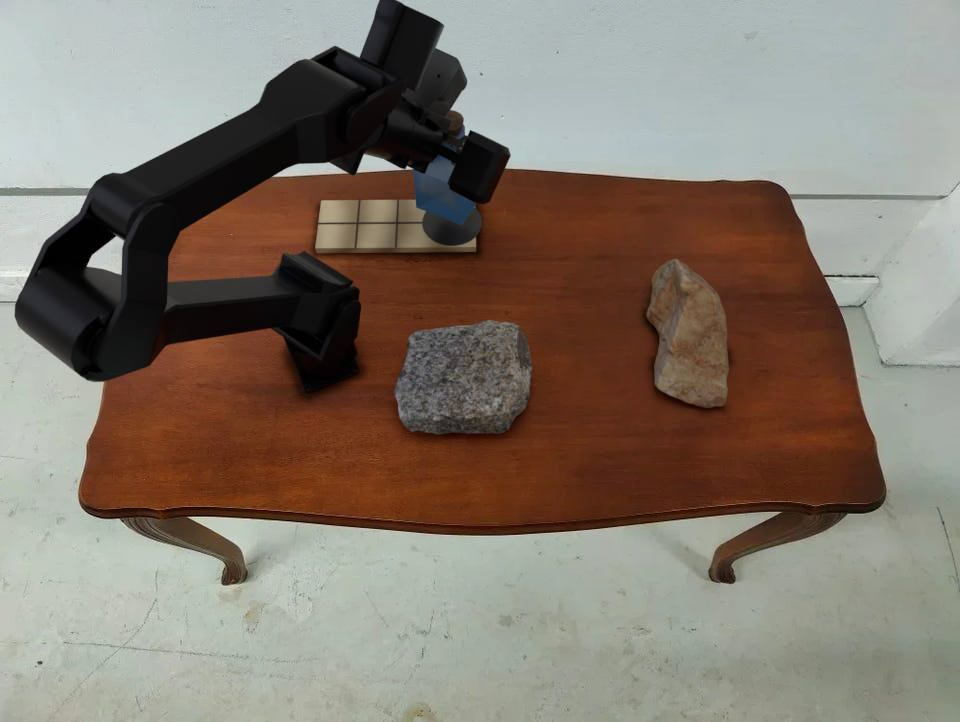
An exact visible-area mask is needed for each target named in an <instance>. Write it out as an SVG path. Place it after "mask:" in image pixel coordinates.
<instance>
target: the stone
mask: <svg viewBox="0 0 960 722" xmlns="http://www.w3.org/2000/svg"><path fill="white" fill-rule="evenodd" d="M650 282H651V289H652V290H651V294H650V303H649V306H648V307H647V310H646V319H647V321H648V322H649V323H650V324H651V325H652V326H654V328H655V330H656V331H657V334H658V337H659V339H658V341H659V344H658V349H657V355H656V357H655V361H654V365H653V366H654V367H653V371H654V386H655V387H656V389H658V390H659V391H660V392H662V393H664V394H666V395H668V396H670V397H673V398H675V399H678V400H680V401H682V402H684V403H686V404H688V405H694V406H697V407H699V408H700V407H701V408H705V409H711V408H714V407H723V406H724V405H726V403H727V400H728V397H727V396H728V393H729V387H728V383H727V380H728V379H727V378H728V376H729V371H730V367H729V353H728V327H727V326H728V325H727V316H726V315H727V314H726V312H725V308H724V307H723V303H722V301H721V297H720V295H719V293H718V292H717V291H716V290H715V289H714V288H713V287H712V286H711V285H710V284H708V282H707V281H706V280H705V279H704V278H703V277H702V276H701V275H699V274H698V273H697V272H694V271H693V270H692V269H691V268H690V267H689V266H688V265H687V264H686V263H684V262H682V261H681V260H679V259H677V258H673V259H670V260H668V261H666V262H665V264H662V265H660V266H659V267H658V269H656V270H655V272H654V273H653V276H652V277H651V280H650Z"/></svg>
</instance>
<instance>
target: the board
mask: <svg viewBox="0 0 960 722" xmlns="http://www.w3.org/2000/svg"><path fill="white" fill-rule="evenodd" d="M482 224H483V219H482V215H481V213H480V212H479V210H478V209H477V208H476V206H475V207H474V208H473V210H472V211H471V213H470V214H469V216H468V217H467V219H466V220H465V221H464V223H463V224H462V225H460V224H457V223H455V222H452V221H450V220H447V219H444V218H442V217H439V216H437V215H434V214H432V213H429V212H426V211H424V210H421V209H419V208H416V199H399V198H398V199H397V198H396V199H360V198H359V199H334V200H333V199H331V200H330V199H329V200H327V199H326V200H325V199H323V200H322V199H321V201H320V208H319V216H318V222H317V232H316V238H315V239H316V240H315V247H314V249H315V252H316V254H375V253H376V254H378V253H380V254H381V253H382V254H384V253H386V254H387V253H389V254H390V253H392V254H393V253H477V236H478V235H479V233H480V232H481V229H482V226H483V225H482Z"/></svg>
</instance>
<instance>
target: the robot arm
mask: <svg viewBox="0 0 960 722" xmlns="http://www.w3.org/2000/svg"><path fill="white" fill-rule="evenodd" d="M444 29H445V24H443V22H441V21H439V20H438V19H436V18H434V17H432V16H429V15H428V14H425V13H423V12H422V11H419V10H416V9H415V8H412V7H410V6H408V5H406V4H404V2H403V3H402V1H399V0H378V3H377V5H376V8H375V12H374V17H373V20H372V23H371V25H370V28H369V30H368V34H367V35H366V39H365V41H364V44H363V47H362V49H361V52H360V54H359V56H357V55H356V54H354V53H351V52H349V51H347V50H346V49H343V48H341V47H340V46H337V45H333V46H331V47H329V48H327V49H326V50H324V51H322V52H320V53H318V54H316V55H315V56H313V57H311V58H303V59H299V60H297V61H295V62H294V63H292V64H291V65H289V66H288V67H287V68H285V69H284V70H282V71H281V72H279V73H278V74H276V76H274V77H273V78H271V79H270V80H269V81H267V83H266V84H265V86H264V88H263V91H262V93H261V96H260V98H259V101H258V103H256V104H254V105H253V106H252V107H250V108H249V109H248V110H245V111H243V112H241V113H240V114H238V115H236V116H234V117H232V118H229V119H228V120H226V121H224V122H222V123H220V124H218V125H216V126H214V127H211V128H210V129H208V130H207V131H204V132H202V133H200V134H198V135H197V136H195V137H192V138H191V139H189V140H187V141H184V142H183V143H180V144H179V145H177V146H175V147H173V148H170V149H169V150H166V151H165V152H163V153H161V154H159V155H157V156H156V157H153V158H151V159H149V160H147V161H145V162H143V163H141V164H139V165H137V166H135V167H134V168H132V169H130V170H127V171H125V172H110V173H108V174H103V175H102V176H100V178H98V179H97V180H96V181H94V183H93V185H92V186H91V187H90V189H89V191H88V193H87V195H86V197H85V199H84V201H83V204H82V206H81V208H80V210H79V212H78V213H77V214H76V215H75V216H74V217H73V218H71V219H70V220H68V222H66V223H64V225H63V226H61V227H60V228H59V229H58V230H56V231H55V232H54V233H53V234H51V235H50V236H49V237H48V238H46V239H45V241H44V242H43V243H42V246H41V247H40V250H39V252H38V254H37V256H36V259H35V261H34V263H33V265H32V267H31V270H30V272H29V274H28V276H27V278H26V281H25V282H24V285H23V287H22V289H21V291H20V292H19V294H18V296H17V298H16V302H15V304H14V319H15V322H16V324H17V326H18V328H19V329H21V330H22V331H23V333H25V334H26V335H27V336H28V337H30V338H31V339H32V340H34V342H36V343H37V344H38V345H40V346H42V348H44V349H45V350H46V351H48V352H49V353H50V354H52V355H53V356H54V357H55V358H57V359H58V360H59V361H60V362H61V363H63V364H64V365H65V366H67V367H68V368H69V369H70V370H72V371H73V372H74V373H76V374H77V375H78V376H80V377H81V378H83V379H84V380H86V381H88V382H92V383H103V382H107V381H111V380H114V379H117V378H120V377H122V376H125V375H128V374H131V373H134V372H137V371H140V370H142V369H146V368H148V367H150V366H151V365H152V363H153V362H154V361H155V360H156V359H157V358H158V356H159V355H160V354H161V353H162V351H163V350H164V349H165V348H166V347H168V346H170V345H176V344H182V343H188V342H194V341H201V340H208V339H213V338H219V337H226V336H232V335H238V334H244V333H249V332H250V333H251V332H257V331H263V330H272V331H273V332H275V333H276V334H278V335H279V336H281V337H282V338H283V340H284V343H285V345H286V348H287V350H288V351H287V352H288V353H289V357H290V359H291V362H292V364H293V366H294V369H295V372H296V374H297V377H298V379H299V382H300V384H301V387H302V390H303V392H304V393H305V394H311V393H313V392H317V391H318V390H319V391H320V390H321V389H325V388H327V387H329V386H332V385H334V384H336V383H339V382H340V383H341V382H343V381H345V380H347V379H350V378H352V377H355V376H358V375H359V374H360V368H359V365H358V363H357V360H356V358H357V357H358V355H359V354H358V351H357V347H356V343H355V341H356V340H357V338H358V336H359V329H360V328H359V327H360V322H361V321H360V320H361V312H362V303H361V301H360V294H361V290H360V288H359V287H357V286H356V285H354V284H353V283H354V280H352V279H351V278H349V277H348V276H346V275H345V274H343V273H341V272H339V271H338V270H336V269H335V268H333V267H331V266H330V265H328V264H327V263H325V262H324V261H322V260H320V259H319V258H317V257H315V256H314V255H313V254H311V253H309V252H308V251H306V250H303V251H301V252H299V253H295V254H291V253H287V252H283V253H282V254H281V259H280V262H279V263H278V265H277V266H276V268H275V269H274V270H273V272H272V273H271V275H261V276H245V277H243V276H241V277H229V278H228V277H227V278H213V279H196V280H180V281H177V280H176V281H169V256H170V254H171V253H172V250H173V248H174V247H175V244H176V242H177V240H178V238H179V236H180V233H181V232H182V231H183V230H185V229H187V228H189V227H190V226H192V225H194V224H195V223H197V222H199V221H201V220H202V219H204V218H206V217H208V216H209V215H210V214H212V213H214V212H215V211H217V210H219V209H221V208H222V207H224V206H225V205H227V204H229V203H231V202H232V201H233V200H236V199H237V198H239V197H240V196H242V195H244V194H246V193H247V192H249V191H251V190H253V189H254V188H256V187H257V186H260V185H261V184H262V183H264V182H266V181H268V180H269V179H271V178H273V177H275V176H276V175H278V174H279V173H281V172H283V171H284V170H287V169H288V168H291V167H295V166H296V165H308V164H310V165H311V164H327V163H329V164H331V165H333V166H335V167H336V168H338V169H340V170H342V171H344V172H346V173H347V174H348V175H351V176H355V175H356V174H357V172H358V170H359V167H360V166H361V162H362V160H363V157H364V155H366V156H370V157H374V158H378V159H382V160H384V161H386V162H388V163H390V164H392V165H394V166H395V167H398V168H399V169H402V170H406V169H407V167H408V168H410V169H412V170H413V169H414V170H416V171H418V172H420V173H423V174H425V173H426V170H427V168H428V166H429V163H431V164H432V163H433V162H434V160H435V159H436V157H437V156H438V155H440V156H442V157H444V158H446V159H448V160H450V161H451V164H450V165H452V166H454V168H453V171H452V173H451V175H450V178H449V180H448V182H447V184H448V185H449V189H450V190H452V191H454V192H456V193H457V194H459V195H461V196H463V197H465V198H467V199H469V200H471V201H472V202H474V203H477V204H476V205H483V206H484V205H485V204H488V203H490V202H491V201H492V198H493V196H494V194H495V191H496V190H497V187H498V185H499V183H500V180H501V179H502V176H503V173H504V171H505V170H506V167H507V165H508V163H509V161H510V159H511V156H512V154H511V152H510V148H509V147H508V146H506V145H504V144H501V143H500V142H497V141H495V140H494V139H492V138H490V137H488V136H485V135H483V134H481V133H479V132H476V131H474V130H471V129H470V130H469V131H468V134H467V135H466V134H465V135H464V136H462V137H461V138H460V139H458V138H456V137H454V136H452V135H450V134H448V133H446V132H447V131H448V129H449V127H450V124H451V122H452V120H451V119H449V118H447V117H446V115H447V113H448V112H449V111H450V110H452V108H453V107H454V104H456V102H457V100H458V98H459V97H460V96H461V94H462V92H463V91H464V90H465V89H466V88H467V85H468V78H467V76H466V73H465V71H464V69H463V66H462V63H461V62H460V60H459V58H458V57H456V56H454V55H452V54H450V53H448V52H445V51H443V50H441V49H439V48H437V46H438V44H439V41H440V38H441V35H442V34H443V31H444ZM444 131H445V132H444ZM443 143H446V144H447V145H448V144H449V146H452V147H453V148H455V147H456V148H455V149H457V150H456V151H454V150H452V149H450V148H448V147H446V146H444V145H443ZM116 237H117V238H119V239H120V240H122V241H123V244H122V248H121V273H117V272H114V271H112V270H107V269H104V268H100V267H92V266H88V265H89V263H90V260H91V258H92V256H94V254H95V253H97V252H99V250H101V249H103V247H105V246H106V245H107V244H108V243H110V242H111V241H113V240H114V239H115V238H116ZM355 370H356V371H355Z"/></svg>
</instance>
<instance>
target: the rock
mask: <svg viewBox="0 0 960 722" xmlns="http://www.w3.org/2000/svg"><path fill="white" fill-rule="evenodd" d="M533 368H534V366H533V362H532V357H531V354H530V345H529V341H528V339H527V335H526V334H525V332H523V330H522V329H521V327H520V325H519V324H517V323H514V322H508V321H505V320H504V321H498V320H497V321H496V320H493V319H485V320H482V321H480V322H477V323H475V324H469V325H452V326H449V327H446V326H445V327H443V326H442V327H437V328H432V329H420V330H416V331H415V332H412V333H411V334H410V336H409V337H408V338H407V341H406V354H405V356H404V361H403V366H402V369H401V370H400V373H399V375H398V377H397V379H396V382H395V386H394V391H393V395H394V398H395V400H396V401H397V411H398V415H399V420H400V421H401V422H402V424H403V426H404V427H405V429H407V431H410V432H412V433H413V432H416V431H421V432H424V433H427V434H435V435H436V436H437V435H442V434H449V433H454V434H458V433H460V434H461V433H462V434H496V435H501V434H503V433H505V432H506V431H508V430H510V429H511V426H512V424H513V421H514V420H515V418H517V416H519V415H520V414H522V413H523V412H524V411H525V410H526V407H527V405H528V401H529V400H530V395H531V393H530V387H531V381H532V373H533Z"/></svg>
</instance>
